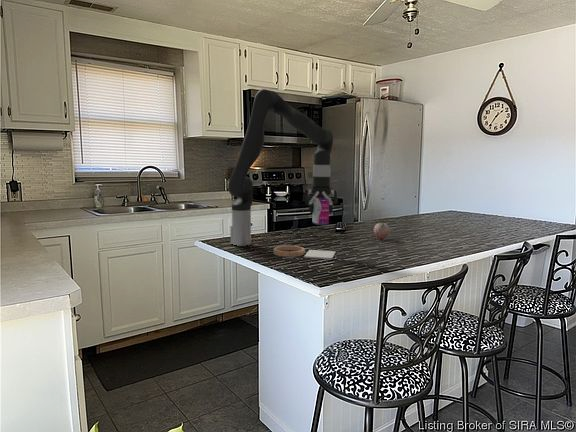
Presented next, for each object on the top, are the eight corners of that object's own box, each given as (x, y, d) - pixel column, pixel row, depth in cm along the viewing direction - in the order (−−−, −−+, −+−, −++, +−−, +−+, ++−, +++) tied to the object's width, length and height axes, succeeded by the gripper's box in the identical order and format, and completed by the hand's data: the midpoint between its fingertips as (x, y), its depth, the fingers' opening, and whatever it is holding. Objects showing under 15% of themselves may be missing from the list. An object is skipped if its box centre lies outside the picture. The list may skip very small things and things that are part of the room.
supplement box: (316, 224, 176) (316, 198, 174) (311, 222, 181) (312, 196, 180) (329, 224, 177) (329, 197, 176) (324, 222, 183) (324, 196, 181)
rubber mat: (304, 257, 176) (304, 256, 176) (309, 251, 189) (309, 249, 188) (332, 259, 173) (332, 257, 173) (335, 252, 186) (335, 251, 186)
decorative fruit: (391, 241, 213) (392, 222, 212) (375, 241, 213) (376, 222, 212) (387, 238, 223) (388, 219, 221) (372, 237, 223) (372, 219, 221)
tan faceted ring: (270, 255, 179) (270, 251, 179) (278, 249, 192) (278, 245, 192) (301, 257, 176) (301, 252, 176) (306, 250, 189) (307, 246, 189)
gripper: (303, 175, 174) (303, 213, 177) (337, 176, 171) (336, 215, 173) (306, 175, 182) (306, 211, 184) (339, 175, 178) (338, 213, 181)
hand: (320, 213), depth 179 cm, fingers closed on supplement box, 7 cm apart
